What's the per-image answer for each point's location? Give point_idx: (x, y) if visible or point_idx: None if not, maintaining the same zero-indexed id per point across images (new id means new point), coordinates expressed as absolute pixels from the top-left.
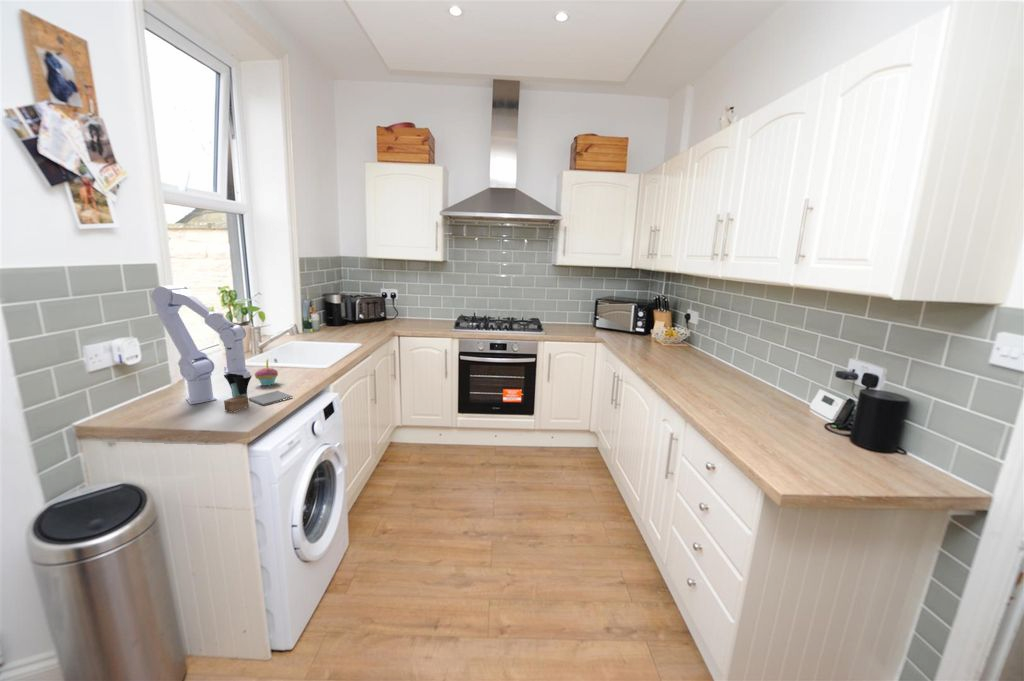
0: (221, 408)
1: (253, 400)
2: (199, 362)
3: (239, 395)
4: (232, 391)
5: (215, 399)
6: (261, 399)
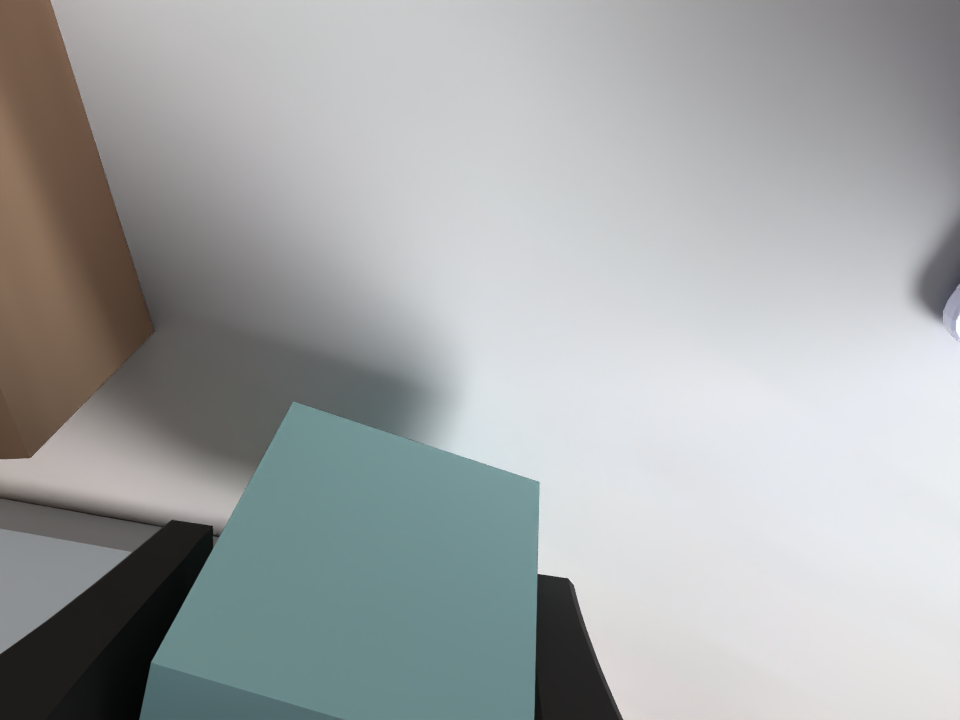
0: (271, 12)
1: (136, 544)
2: None
3: (22, 450)
4: (451, 554)
5: (951, 308)
6: (49, 611)
